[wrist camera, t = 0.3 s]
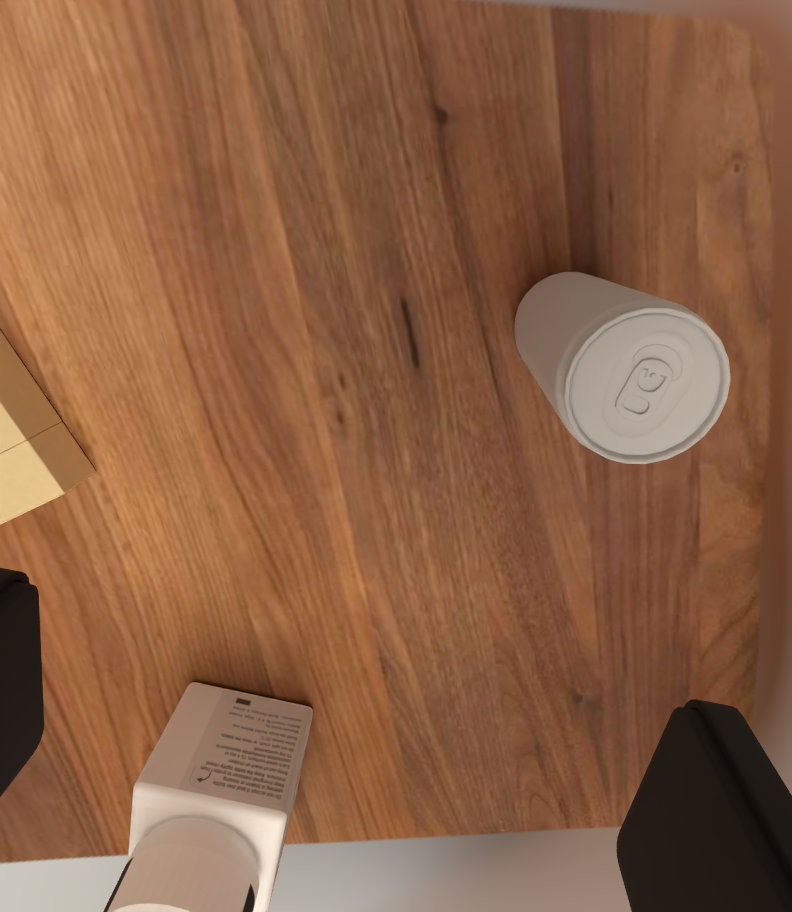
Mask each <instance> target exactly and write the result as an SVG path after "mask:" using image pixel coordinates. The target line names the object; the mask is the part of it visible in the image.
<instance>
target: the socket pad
mask: <svg viewBox="0 0 792 912" xmlns="http://www.w3.org/2000/svg"><path fill="white" fill-rule="evenodd" d="M61 421H62V420H61V419H60V417H59V416H58V414H57V413H56V411H55V410H54V408H53V407H52V406H51V404H50V403H49V401H48V400H47V398H46V397H45V395H44V394H43V392H42V391H41V389H40V388H39V386H38V385H37V383H36V382H35V381H34V379H33V378H32V376H31V375H30V373H29V372H28V370H27V369H26V367H25V366H24V364H23V363H22V361H21V360H20V359H19V357H18V356H17V354H16V353H15V351H14V350H13V348H12V347H11V345H10V344H9V342H8V341H7V339H6V338H5V337H4V335H3V334H2V332H1V331H0V525H1V524H3V523H5V522H7V521H9V520H11V519H13V518H15V517H17V516H19V515H22V514H24V513H26V512H28V511H30V510H32V509H34V508H36V507H38V506H41V505H43V504H45V503H47V502H49V501H51V500H53V499H55V498H57V497H60V496H62V495H64V494H65V493H67V492H68V491H70V490H71V489H72V488H74V487H75V486H76V485H78V484H79V483H81V482H82V481H83V480H85V479H86V478H88V477H89V476H90V475H92V474H93V473H95V469H94V468H93V466H92V465H91V463H90V462H89V460H88V459H87V457H86V456H85V454H84V453H83V451H82V450H81V448H80V447H79V445H78V444H77V443H76V441H75V440H74V438H73V437H72V435H71V434H70V432H69V431H68V429H67V428H66V426H65V425H64V423H63V422H61Z"/></svg>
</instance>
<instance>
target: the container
mask: <svg viewBox="0 0 792 912" xmlns="http://www.w3.org/2000/svg"><path fill="white" fill-rule="evenodd" d="M312 717H313V710H312V708H311V707H309V706H305V705H300V704H295V703H291V702H286V701H281V700H277V699H272V698H267V697H263V696H258V695H253V694H248V693H244V692H239V691H234V690H230V689H225V688H220V687H216V686H211V685H206V684H202V683H197V682H192V683H190V684H189V685H188V687H187V689H186V691H185V692H184V694H183V696H182V698H181V700H180V702H179V704H178V705H177V707H176V709H175V711H174V713H173V715H172V717H171V718H170V720H169V722H168V724H167V726H166V728H165V730H164V731H163V733H162V735H161V737H160V739H159V741H158V743H157V744H156V746H155V748H154V750H153V752H152V754H151V755H150V757H149V759H148V761H147V763H146V765H145V767H144V768H143V770H142V772H141V774H140V776H139V778H138V780H137V781H136V783H135V785H134V789H133V802H132V815H131V828H130V841H129V854H128V862H127V864H126V866H125V868H124V871H123V872H122V874H121V877H120V879H119V881H118V883H117V885H116V887H115V889H114V891H113V893H112V895H111V897H110V899H109V901H108V903H107V905H106V908H105V909H104V912H267V910H268V907H269V903H270V899H271V895H272V891H273V887H274V882H275V879H276V875H277V871H278V867H279V863H280V858H281V854H282V850H283V846H284V842H285V838H286V834H287V830H288V826H289V822H290V818H291V814H292V810H293V806H294V802H295V798H296V793H297V788H298V784H299V779H300V774H301V769H302V764H303V760H304V755H305V750H306V745H307V741H308V736H309V731H310V726H311V722H312Z"/></svg>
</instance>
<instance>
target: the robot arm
mask: <svg viewBox="0 0 792 912" xmlns="http://www.w3.org/2000/svg"><path fill="white" fill-rule="evenodd" d="M43 730H44V710H43V686H42V663H41V639H40V616H39V594H38V589H37V588H36V586H34V585H32V584H30V583H29V578H28V577H27V575H26V574H25V573H23V572H19V571H14V570H9V569H3V568H0V797H1V795H2V794H3V793H4V791H5V790H6V789H7V787H8V786H9V785H10V783H11V782H12V781H13V780H14V778H15V777H16V776H17V774H18V773H19V772H20V770H21V769H22V768H23V766H24V765H25V764H26V762H27V761H28V760H29V759H30V757H31V756H32V755H33V753H34V752H35V750H36V749H37V747H38V745H39V743H40V740H41V737H42V734H43ZM617 858H618V863H619V867H620V871H621V874H622V878H623V882H624V885H625V888H626V892H627V896H628V899H629V903H630V907H631V910H632V912H792V795H791V794H790V792H789V790H788V789H787V787H786V786H785V784H784V782H783V781H782V779H781V777H780V776H779V774H778V773H777V771H776V769H775V768H774V766H773V765H772V763H771V761H770V760H769V758H768V757H767V755H766V753H765V751H764V750H763V748H762V747H761V745H760V743H759V742H758V740H757V739H756V737H755V735H754V734H753V732H752V730H751V729H750V727H749V725H748V724H747V722H746V721H745V719H744V717H743V716H742V714H741V713H740V712H739V711H738V709H736V708H734V707H732V706H728V705H723V704H717V703H712V702H707V701H702V700H696V699H694V700H690V701H688V702H687V703H686V705H685V706H684V708H682V707H677V708H676V709H675V710H674V711H673V713H672V714H671V716H670V719H669V721H668V723H667V725H666V728H665V730H664V732H663V735H662V737H661V739H660V741H659V744H658V746H657V748H656V750H655V753H654V755H653V757H652V759H651V762H650V764H649V766H648V768H647V771H646V773H645V775H644V777H643V780H642V782H641V784H640V787H639V789H638V791H637V793H636V796H635V798H634V800H633V802H632V805H631V807H630V809H629V811H628V814H627V816H626V818H625V820H624V823H623V825H622V827H621V829H620V832H619V835H618V839H617Z"/></svg>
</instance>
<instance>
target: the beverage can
mask: <svg viewBox="0 0 792 912" xmlns="http://www.w3.org/2000/svg"><path fill="white" fill-rule="evenodd" d="M515 340H516V346H517V349H518V351H519V353H520V355H521V358H522V359H523V361H524V363H525V364H526V366H527V367H528V369H529V370H530V372H531V374H532V375H533V377H534V378H535V380H536V381H537V383H538V384H539V386H540V388H541V389H542V391H543V392H544V394H545V396H546V397H547V399H548V400H549V402H550V404H551V405H552V407H553V408H554V410H555V411H556V413H557V415H558V416H559V418H560V419H561V421H562V422H563V424H564V426H565V427H566V429H567V430H568V431H569V432H570V433H571V434H572V435H573V436H574V437H575V438H576V439H577V440H578V441H579V442H580V443H581V444H582V445H584V446H585V447H587V448H589V449H591V450H592V451H594V452H596V453H597V454H600V455H601V456H603V457H605V458H606V459H610V460H614V461H618V462H622V463H625V464H648V463H652V462H657V461H661V460H666V459H669V458H671V457H673V456H675V455H677V454H679V453H681V452H683V451H685V450H687V449H688V448H690V447H691V446H692V445H694V444H695V443H696V442H697V441H699V440H700V439H701V438H702V437H704V436H705V434H706V433H707V432H708V431H709V429H710V428H711V427H712V426H713V425H714V423H715V422H716V421H717V420H718V418H719V415H720V413H721V411H722V409H723V407H724V405H725V403H726V401H727V396H728V390H729V385H730V380H731V378H730V368H729V359H728V356H727V354H726V351H725V349H724V347H723V344H722V342H721V340H720V338H719V337H718V336H717V335H716V334H715V333H714V331H713V330H712V329H711V328H710V327H709V326H708V324H706V323H705V321H704V320H703V319H702V318H701V317H700V316H699V315H697V314H695V313H694V312H692V311H691V310H689V309H687V308H686V307H684V306H683V305H681V304H678V303H675V302H671V301H668V300H665V299H662V298H659V297H656V296H653V295H650V294H647V293H644V292H641V291H638V290H635V289H632V288H628V287H625V286H622V285H619V284H616V283H613V282H610V281H607V280H604V279H601V278H598V277H595V276H592V275H588V274H584V273H581V272H562V273H558V274H555V275H551V276H549V277H547V278H545V279H543V280H541V281H540V282H538V283H536V284H535V285H534V286H533V287H532V288H531V289H530V290H529V291H528V292H527V293H526V294H525V296H524V298H523V299H522V301H521V303H520V304H519V306H518V309H517V313H516V317H515Z"/></svg>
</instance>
